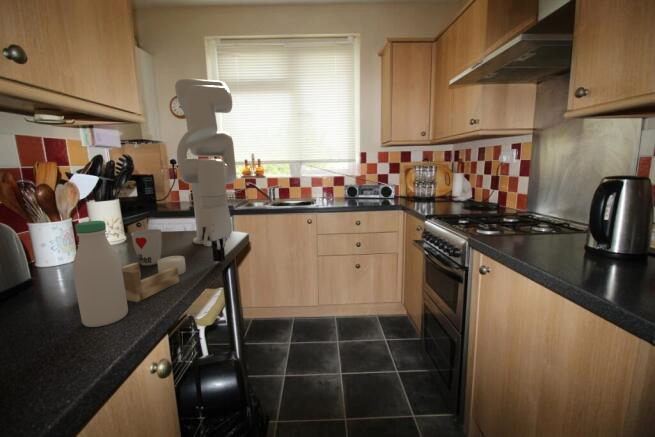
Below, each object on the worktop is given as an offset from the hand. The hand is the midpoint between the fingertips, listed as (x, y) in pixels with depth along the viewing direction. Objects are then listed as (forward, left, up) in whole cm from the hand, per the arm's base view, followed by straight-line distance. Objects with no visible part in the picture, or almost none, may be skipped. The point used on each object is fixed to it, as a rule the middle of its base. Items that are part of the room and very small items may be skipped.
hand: (219, 260), depth 95 cm
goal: (+21, -8, -1) cm, 23 cm away
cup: (+5, -22, -1) cm, 23 cm away
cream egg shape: (+10, -8, -1) cm, 13 cm away
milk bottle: (+35, 0, -1) cm, 35 cm away
